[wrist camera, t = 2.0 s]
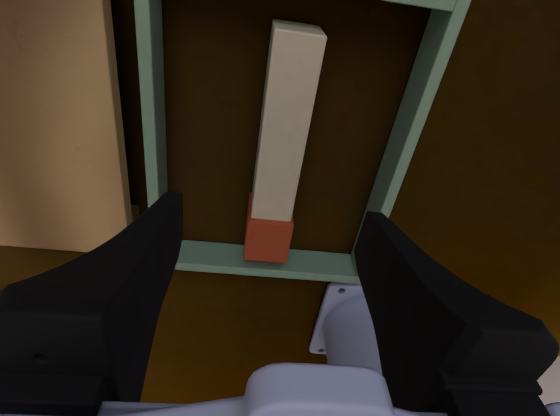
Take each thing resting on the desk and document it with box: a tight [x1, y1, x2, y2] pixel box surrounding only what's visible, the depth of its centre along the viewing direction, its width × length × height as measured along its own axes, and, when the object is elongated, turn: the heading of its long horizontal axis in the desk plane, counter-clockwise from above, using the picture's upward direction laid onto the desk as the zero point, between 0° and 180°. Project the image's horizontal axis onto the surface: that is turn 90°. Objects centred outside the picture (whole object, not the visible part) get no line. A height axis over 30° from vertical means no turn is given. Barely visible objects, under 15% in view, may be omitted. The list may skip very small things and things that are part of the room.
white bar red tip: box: [243, 19, 327, 263], centre depth 19 cm, size 2×12×3 cm, turn 172°
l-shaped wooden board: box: [0, 0, 140, 252], centre depth 16 cm, size 8×16×6 cm, turn 172°
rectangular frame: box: [134, 0, 471, 284], centre depth 19 cm, size 13×16×2 cm
